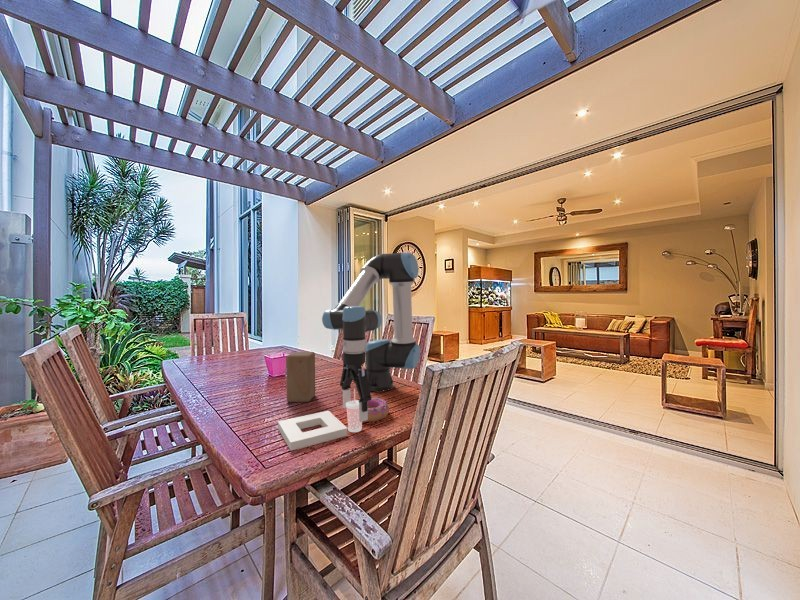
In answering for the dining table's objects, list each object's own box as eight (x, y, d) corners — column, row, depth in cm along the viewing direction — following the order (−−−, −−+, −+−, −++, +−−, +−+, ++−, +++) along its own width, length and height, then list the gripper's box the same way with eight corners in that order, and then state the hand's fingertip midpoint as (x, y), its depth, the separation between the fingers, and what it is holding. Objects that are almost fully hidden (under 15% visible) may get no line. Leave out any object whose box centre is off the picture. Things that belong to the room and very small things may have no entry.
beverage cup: (351, 424, 111) (351, 385, 111) (367, 427, 109) (366, 387, 108) (342, 431, 105) (341, 390, 105) (358, 434, 103) (357, 392, 103)
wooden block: (309, 402, 133) (308, 355, 132) (285, 402, 133) (285, 355, 132) (316, 395, 143) (315, 351, 142) (294, 395, 143) (293, 351, 142)
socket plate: (328, 417, 118) (328, 410, 118) (347, 435, 102) (347, 428, 102) (278, 428, 108) (277, 421, 108) (290, 450, 93) (290, 442, 93)
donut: (344, 415, 120) (344, 402, 120) (374, 406, 129) (374, 394, 129) (365, 427, 109) (365, 413, 109) (396, 416, 118) (396, 403, 118)
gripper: (330, 347, 115) (331, 404, 115) (359, 359, 94) (360, 429, 94) (349, 345, 119) (350, 401, 119) (381, 356, 98) (382, 424, 98)
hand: (354, 413), depth 107 cm, fingers open, 13 cm apart
